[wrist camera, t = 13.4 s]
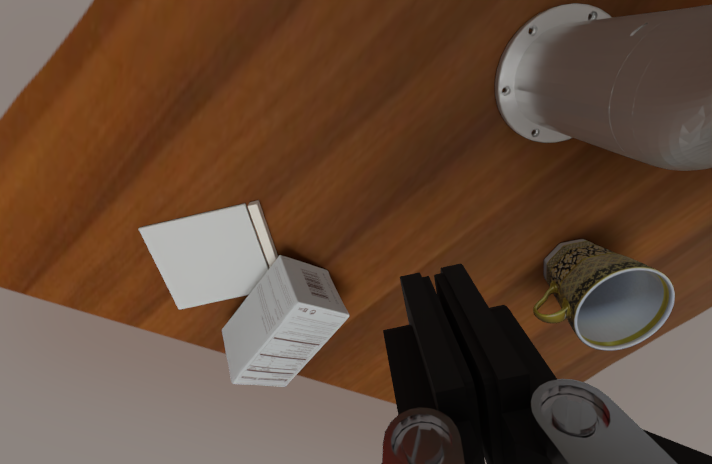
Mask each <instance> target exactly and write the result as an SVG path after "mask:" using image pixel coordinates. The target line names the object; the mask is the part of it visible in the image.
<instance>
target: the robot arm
mask: <svg viewBox="0 0 712 464" xmlns="http://www.w3.org/2000/svg"><path fill="white" fill-rule="evenodd" d="M588 15H589V19H588ZM529 28H530V29H531V33H530V34H529V33H528V31H529ZM503 88H505V91H504V92H503V93H502V89H503ZM495 97H496V102H497V107H498V109H499V111H500V114H501V116H502V118H503V119H504V121H505V122H506V123H507V125H508V126H509V127H510V128H511V129H512V130H514V131H515V132H516V133H517V134H519V135H521V136H523V137H525V138H527V139H530V140H532V141H537V142H543V143H554V142H560V141H565V140H568V139H571V138H575V139H578V140H581V141H584V142H587V143H589V144H592V145H595V146H598V147H601V148H604V149H606V150H609V151H612V152H615V153H618V154H620V155H623V156H626V157H629V158H632V159H635V160H638V161H641V162H644V163H647V164H650V165H653V166H656V167H660V168H664V169H669V170H679V171H690V170H701V169H708V168H712V5H705V6H699V7H693V8H685V9H677V10H669V11H661V12H653V13H645V14H637V15H629V16H621V17H613V18H612V17H611V16H610V15H609V14H607V13H606V12H604V11H603V10H601V9H600V8H597V7H594V6H591V5H588V4H578V3H574V4H566V5H560V6H557V7H553V8H550V9H548V10H546V11H543V12H541V13H539V14H537V15H536V16H535V17H533V18H532V19H530V20H529V21H527V22H526V23H525V24H524V25H523V26H522V27H521V28H520V29H519V30H518V31H517V32H516V33H515V35H514V36H513V37H512V39H511V40H510V41H509V43H508V44H507V46H506V48H505V50H504V52H503V54H502V56H501V59H500V62H499V65H498V68H497V72H496V78H495ZM533 130H534V132H533V133H532V131H533ZM531 133H532V134H531ZM434 278H435V285H436V291H437V294H436V292H435V289H434V287H433V285H432V282H431V280H430V278H429V276H427V277H421V274H420V273H415V274H410V275H406V276H401V277H400V281H401V286H402V291H403V296H404V301H405V306H406V311H407V316H408V321H409V325H406V326H401V327H397V328H392V329H387V330H383V332H384V338H385V344H386V349H387V355H388V360H389V366H390V371H391V377H392V382H393V388H394V393H395V399H396V404H397V409H398V416H397V417H395V418H394V419H393V420H392V421H391V422H390V424H389V426H388V428H387V429H386V431H385V435H384V440H383V458H382V464H485V460H486V463H487V464H712V456H709V455H707V454H704V453H702V452H699V451H697V450H694V449H691V448H689V447H686V446H684V445H681V444H679V443H676V442H674V441H671V440H668V439H666V438H663V437H661V436H658V435H656V434H653V433H650V432H648V431H645V430H643V429H641V428H640V427H639V426H638V425H637V424H636V423H635V422H634V421H633V420H632V419H631V418H630V417H629V416H628V415H627V414H626V413H625V412H624V411H623V410H622V409H621V408H619V406H618V405H617V404H615V403H614V402H613V401H612V400H611V399H610V398H609V397H608V396H607V395H606V394H604V393H603V392H602V391H600V390H599V389H597V388H595V387H593V386H591V385H589V384H587V383H584V382H580V381H576V380H571V379H557V378H556V377H555V375H554V374H553V373H552V371H551V370H550V368H549V367H548V365H547V364H546V362H545V361H544V359H543V358H542V357H541V355H540V354H539V352H538V351H537V349H536V348H535V346H534V345H533V343H532V342H531V341H530V339H529V338H528V336H527V335H526V333H525V332H524V330H523V329H522V327H521V326H520V325H519V323H518V322H517V320H516V319H515V317H514V316H513V314H512V313H511V311H510V310H509V309H508V308H507V306H505V305H501V306H496V307H491V308H489V307H488V306H487V304H486V302H485V301H484V299H483V297H482V296H481V294H480V293H479V291H478V289H477V288H476V286H475V284H474V283H473V281H472V279H471V278H470V276H469V275H468V273H467V271H466V270H465V268H464V266H463V265H462V264H457V265H452V266H447V267H443V268H441V273H440V274H436V275H434ZM484 457H485V460H484Z"/></svg>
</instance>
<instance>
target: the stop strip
mask: <svg viewBox="0 0 712 464" xmlns="http://www.w3.org/2000/svg"><path fill="white" fill-rule="evenodd" d="M248 208H249V211H250V214H251V217H252V220H253V222H254V225H255V228H256V231H257V233H258V236H259V239H260V242H261V245H262V247H263V250H264V253H265V256H266V258H267V261H268V264H269V267H271V266H272V264H273V263H274V262H275V261H276V259H277V258H278V255H277V252H276V249H275V246H274V243H273V240H272V237H271V234H270V231H269V229H268V226H267V223H266V220H265V217H264V214H263V211H262V208H261V205H260V202H259V200H257V201H253V202H250V203H249V205H248Z"/></svg>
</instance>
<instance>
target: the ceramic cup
mask: <svg viewBox="0 0 712 464" xmlns="http://www.w3.org/2000/svg"><path fill="white" fill-rule="evenodd" d="M544 278H545V280H546V281H547V283H548V284H549V286H550V288H549V289H548V290H547V291H546V293H545V295H544V296H543V297H542V299H540V300H539V301H538V302H537V303H536V304H535V306H534V309H533V312H534V315H535V316H536V317H537V318H538V319H540V320H541V321H543V322H546V323H560V322H562V321H564V320H565V319H566V318H567V320H568V322H569V324H570V325H571V327H572V329H573V330H574V332H575V333H576V335H577V336H578V338H579V339H580V340H581V341H582V342H583V343H584V344H586V345H587V346H589V347H592V348H594V349H598V350H606V351H611V350H620V349H624V348H628V347H631V346H633V345H636V344H638V343H640V342H642V341H644V340H645V339H647V338H648V337H650V336H651V335H652V334H654V333H655V332H656V331H657V330H658V329H659V328H660V327H661V326H662V325H663V324H664V322H665V321H666V320H667V318H668V317H669V315H670V313H671V311H672V308H673V305H674V299H675V292H674V288H673V285H672V283H671V281H670V280H669V279H668V278H667V277H666V276H665V275H664V274H663V273H661V272H660V271H658V270H655V269H653V268H651V267H649V266H647V265H645V264H643V263H641V262H638V261H636V260H633V259H631V258H629V257H626V256H623V255H620V254H617V253H614V252H612V251H610V250H608V249H605V248H603V247H601V246H598V245H596V244H594V243H591V242H589V241H587V240H584V239H579V240H574V241H569V242H564V243H560V244H559V245H557V247H556V248H555V249H554V250H553V251H552V252H551V253H550V254H549V255H548V256H547V257H546V258H545V259H544ZM550 294H554V295H555V297H556V299H557V301H558V303H559V304H560V306H561V310H560V311H558V312H556V313H554V314H550V315H544V314H540V313H539V312H538V311H537V310H538V308H539V307H540V306H541V305H542V304H543V303H544V302H545V301H546V300H547V298H548V296H549V295H550Z"/></svg>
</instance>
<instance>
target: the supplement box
mask: <svg viewBox="0 0 712 464" xmlns="http://www.w3.org/2000/svg"><path fill="white" fill-rule="evenodd" d="M349 316H350V315H349V313H348V311H347V309H346V308H345V306H344V304H343V302H342V300H341V298H340V296H339V294H338V292H337V290H336V288H335V286H334V284H333V282H332V280H331V277H330V275H329V272H328V271H327V270H325V269H322V268H319V267H316V266H313V265H310V264H307V263H304V262H301V261H298V260H295V259H292V258H288V257H285V256H282V255H279V256H278V258H277V259H276V261H275V262H274V263H273V264H272V266H271V267H270V268H269V270H268V271H267V272H266V273H265V275H264V276H263V277H262V279H261V280H260V281H259V282H258V284H257V285H256V286H255V288H254V289H253V290H252V291H251V293H250V294H249V295H248V297H247V298H246V299H245V301H244V302H243V303H242V304H241V306H240V307H239V308H238V310H237V311H236V312H235V314H234V315H233V316H232V317H231V319H230V320H229V321H228V323H227V324H226V325H225V326H224V328H223V329H222V334H223V339H224V344H225V350H226V356H227V361H228V366H229V371H230V377H231V382H232V383H233V384H247V385H264V386H265V385H266V386H279V387H286V386H287V384H288V383H289V382H290V381H291V380H292V379H293V378H294V377H295V376H296V375H297V374H298V372H299V371H300V370H301V369H302V368H303V367H304V366H305V365H306V364H307V363H308V362H309V360H310V359H311V358H312V357H313V356H314V355H315V354H316V353H317V352H318V351H319V349H320V348H321V347H322V346H323V345H324V344H325V343H326V342H327V341H328V340H329V339H330V337H331V336H332V335H333V334H334V333H335V332H336V331H337V330H338V329H339V328H340V327H341V325H342V324H343V323H344V322H345V321H346V320H347V319H348V318H349Z"/></svg>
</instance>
